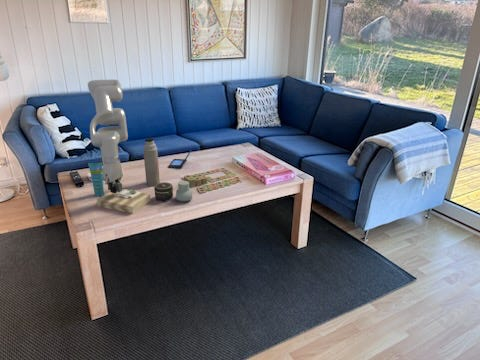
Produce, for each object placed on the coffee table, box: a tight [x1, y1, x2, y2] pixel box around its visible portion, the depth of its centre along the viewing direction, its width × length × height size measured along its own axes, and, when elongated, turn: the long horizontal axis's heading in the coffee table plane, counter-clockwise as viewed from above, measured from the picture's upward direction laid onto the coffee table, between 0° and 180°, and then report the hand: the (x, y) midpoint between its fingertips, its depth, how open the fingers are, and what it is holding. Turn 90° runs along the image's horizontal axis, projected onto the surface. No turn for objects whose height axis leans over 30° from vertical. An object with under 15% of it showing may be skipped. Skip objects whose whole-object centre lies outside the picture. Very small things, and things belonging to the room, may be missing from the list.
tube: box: [87, 162, 105, 197], centre depth 205 cm, size 7×5×19 cm, turn 103°
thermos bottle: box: [143, 137, 161, 187], centre depth 219 cm, size 8×8×28 cm
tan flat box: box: [96, 188, 151, 214], centre depth 199 cm, size 22×17×4 cm
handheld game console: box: [167, 149, 192, 170], centre depth 253 cm, size 16×13×9 cm
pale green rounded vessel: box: [175, 180, 193, 202], centre depth 203 cm, size 11×8×10 cm
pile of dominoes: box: [181, 167, 243, 194], centre depth 230 cm, size 35×27×6 cm
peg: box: [107, 181, 132, 197], centre depth 197 cm, size 13×2×7 cm, turn 69°
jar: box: [153, 182, 174, 202], centre depth 205 cm, size 10×10×8 cm
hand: (115, 191), depth 198 cm, fingers open, 2 cm apart
